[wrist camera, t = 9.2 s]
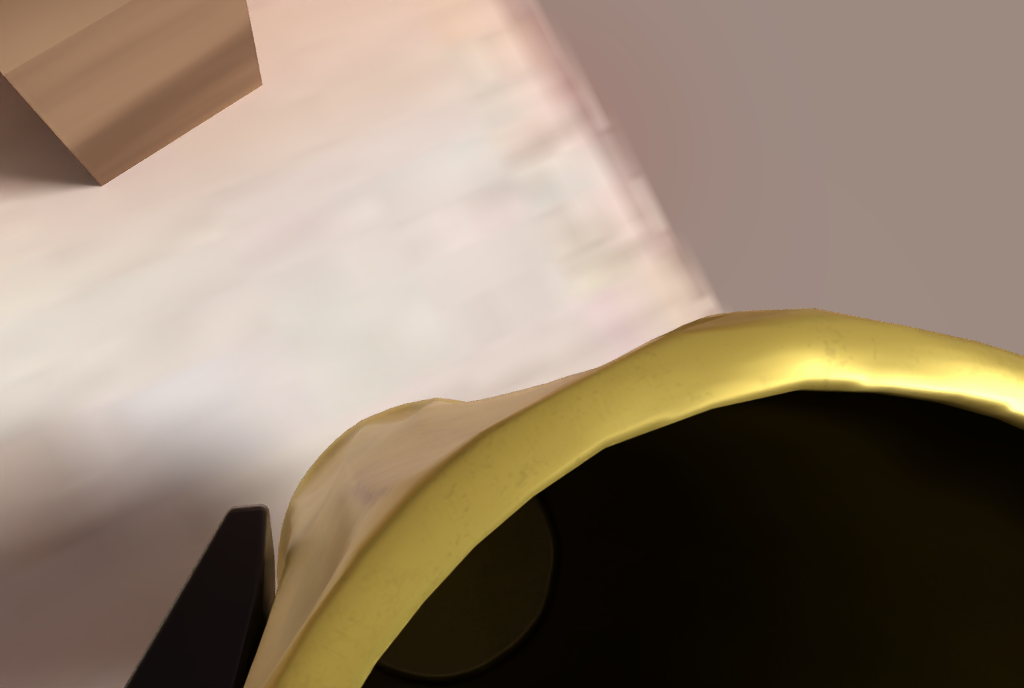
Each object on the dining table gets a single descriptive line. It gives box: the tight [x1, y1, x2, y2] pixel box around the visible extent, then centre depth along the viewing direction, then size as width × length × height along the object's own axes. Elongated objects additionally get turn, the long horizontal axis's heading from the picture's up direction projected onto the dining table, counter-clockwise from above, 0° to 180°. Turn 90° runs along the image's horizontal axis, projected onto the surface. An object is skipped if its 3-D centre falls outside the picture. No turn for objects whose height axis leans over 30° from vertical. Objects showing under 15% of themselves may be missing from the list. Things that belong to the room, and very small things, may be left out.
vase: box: [244, 308, 1024, 688], centre depth 10 cm, size 6×6×14 cm
